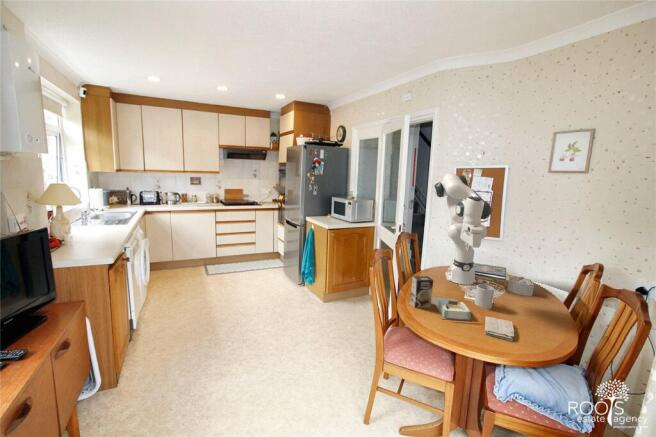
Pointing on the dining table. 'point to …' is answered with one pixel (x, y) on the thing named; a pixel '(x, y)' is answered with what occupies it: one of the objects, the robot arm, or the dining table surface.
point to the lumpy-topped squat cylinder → (521, 286)
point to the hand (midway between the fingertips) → (468, 251)
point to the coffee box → (421, 291)
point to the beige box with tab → (453, 305)
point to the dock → (451, 310)
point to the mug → (484, 296)
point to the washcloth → (499, 328)
